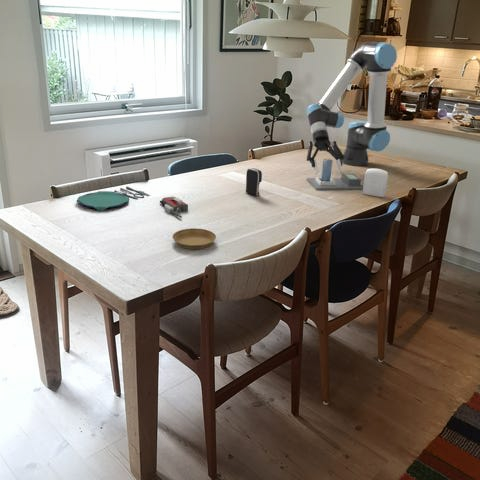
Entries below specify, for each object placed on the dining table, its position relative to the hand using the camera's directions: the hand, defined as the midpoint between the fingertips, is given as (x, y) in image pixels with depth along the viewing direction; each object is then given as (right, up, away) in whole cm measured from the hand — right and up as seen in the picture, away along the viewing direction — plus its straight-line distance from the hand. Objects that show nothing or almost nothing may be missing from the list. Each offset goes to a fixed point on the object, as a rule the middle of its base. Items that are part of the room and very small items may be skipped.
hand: (329, 172), depth 235 cm
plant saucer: (-58, -33, -65) cm, 93 cm away
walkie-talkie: (-68, -21, -37) cm, 80 cm away
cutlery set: (-95, -16, -29) cm, 100 cm away
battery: (-36, -11, -13) cm, 40 cm away
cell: (-1, -4, +5) cm, 6 cm away
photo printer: (+19, -11, -6) cm, 23 cm away
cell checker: (+4, -5, +6) cm, 9 cm away
